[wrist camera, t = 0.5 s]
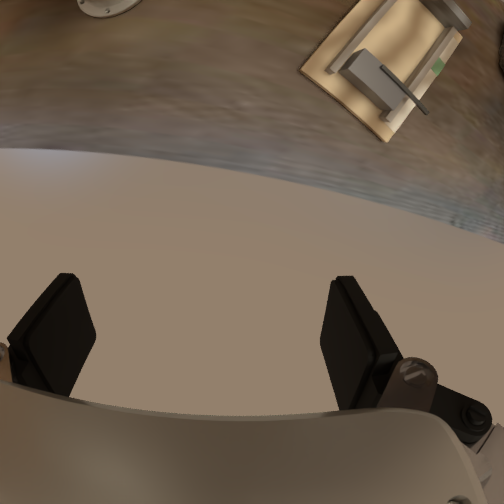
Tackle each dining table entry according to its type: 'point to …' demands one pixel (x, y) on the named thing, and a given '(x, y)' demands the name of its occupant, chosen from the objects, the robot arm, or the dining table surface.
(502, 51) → the stone
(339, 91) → the gauge board
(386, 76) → the slider
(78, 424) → the robot arm
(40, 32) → the dining table surface
